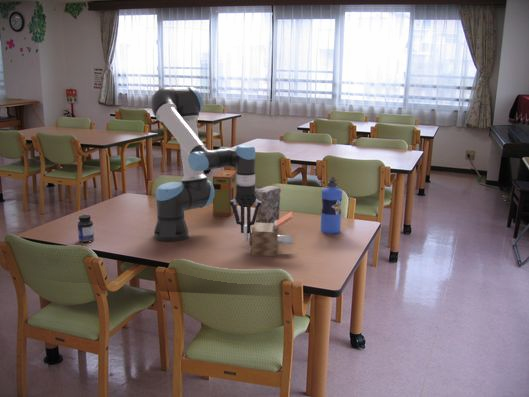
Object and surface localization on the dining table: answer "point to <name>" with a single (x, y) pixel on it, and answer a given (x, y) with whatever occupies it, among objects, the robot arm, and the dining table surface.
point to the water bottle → (331, 208)
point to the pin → (278, 239)
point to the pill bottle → (85, 228)
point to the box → (224, 192)
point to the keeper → (282, 220)
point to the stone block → (268, 204)
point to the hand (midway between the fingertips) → (245, 240)
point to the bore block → (264, 239)
